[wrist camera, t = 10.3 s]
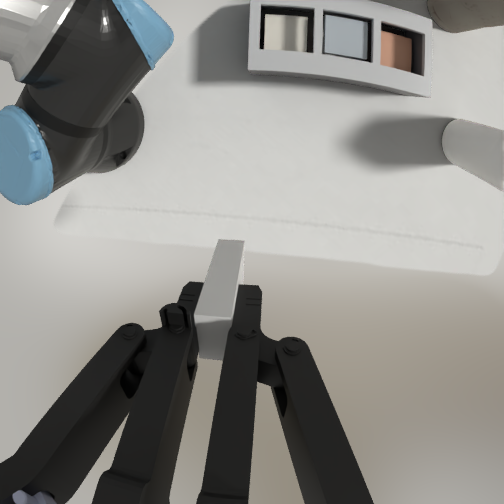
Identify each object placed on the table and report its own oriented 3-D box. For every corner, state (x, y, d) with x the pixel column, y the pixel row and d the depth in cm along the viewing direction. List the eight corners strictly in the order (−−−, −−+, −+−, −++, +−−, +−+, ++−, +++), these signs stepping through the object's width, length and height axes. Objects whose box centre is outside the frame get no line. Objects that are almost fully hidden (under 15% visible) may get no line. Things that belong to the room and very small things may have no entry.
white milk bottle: (468, 113, 35) (540, 133, 20) (478, 157, 39) (545, 192, 23) (433, 124, 38) (504, 148, 22) (445, 170, 41) (510, 211, 26)
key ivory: (264, 53, 35) (263, 50, 32) (265, 20, 32) (265, 14, 29) (303, 56, 34) (306, 53, 31) (304, 23, 32) (307, 17, 29)
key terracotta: (367, 66, 34) (375, 64, 31) (368, 33, 31) (376, 29, 28) (401, 74, 34) (410, 73, 31) (402, 42, 31) (411, 39, 28)
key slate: (320, 56, 32) (324, 52, 29) (321, 21, 30) (325, 14, 27) (359, 62, 32) (366, 59, 29) (360, 27, 29) (367, 22, 26)
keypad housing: (251, 74, 37) (247, 69, 30) (254, 3, 31) (251, -14, 24) (407, 95, 36) (430, 97, 30) (410, 28, 30) (432, 20, 24)
